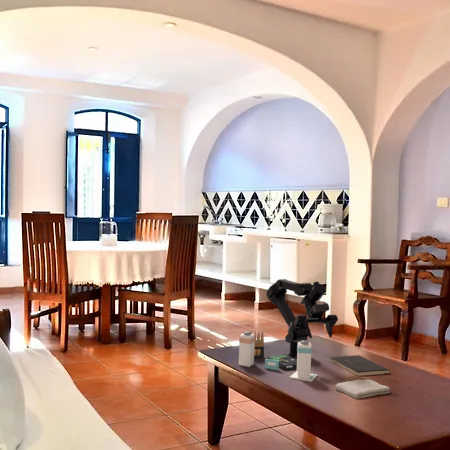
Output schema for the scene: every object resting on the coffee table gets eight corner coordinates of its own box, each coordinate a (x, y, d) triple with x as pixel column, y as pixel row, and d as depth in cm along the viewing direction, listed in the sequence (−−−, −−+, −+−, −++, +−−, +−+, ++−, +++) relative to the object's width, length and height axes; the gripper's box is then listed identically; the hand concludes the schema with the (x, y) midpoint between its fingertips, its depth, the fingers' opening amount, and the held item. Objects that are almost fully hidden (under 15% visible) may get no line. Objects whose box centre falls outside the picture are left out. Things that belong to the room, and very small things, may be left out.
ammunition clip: (262, 356, 257) (263, 330, 257) (264, 357, 256) (265, 331, 255) (240, 357, 255) (241, 331, 254) (241, 358, 253) (242, 332, 252)
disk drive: (304, 369, 241) (285, 360, 255) (304, 363, 241) (285, 353, 254) (283, 371, 237) (265, 362, 250) (283, 365, 237) (266, 355, 250)
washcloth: (391, 393, 213) (391, 385, 213) (356, 400, 204) (356, 392, 204) (368, 384, 223) (369, 377, 223) (334, 390, 214) (334, 382, 214)
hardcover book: (357, 377, 233) (357, 371, 233) (329, 361, 254) (329, 356, 254) (390, 374, 238) (390, 369, 238) (360, 359, 259) (360, 355, 259)
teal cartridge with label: (265, 367, 239) (265, 358, 239) (278, 370, 237) (278, 360, 236) (264, 368, 238) (264, 359, 238) (278, 370, 236) (278, 361, 236)
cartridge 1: (242, 362, 247) (244, 330, 246) (253, 363, 245) (255, 331, 244) (238, 365, 242) (239, 332, 242) (249, 366, 240) (250, 334, 240)
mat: (296, 372, 234) (296, 370, 234) (317, 375, 230) (317, 374, 230) (289, 378, 226) (289, 376, 226) (311, 381, 222) (311, 380, 222)
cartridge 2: (296, 373, 231) (297, 339, 230) (308, 373, 231) (310, 340, 230) (297, 377, 226) (298, 342, 225) (310, 377, 226) (311, 343, 225)
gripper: (297, 296, 242) (307, 327, 231) (337, 296, 247) (348, 326, 236) (289, 311, 250) (298, 342, 239) (328, 310, 254) (338, 340, 244)
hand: (321, 337), depth 240 cm, fingers open, 9 cm apart
